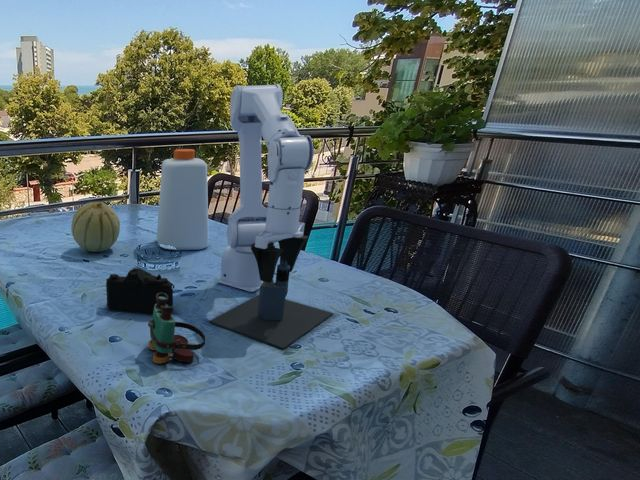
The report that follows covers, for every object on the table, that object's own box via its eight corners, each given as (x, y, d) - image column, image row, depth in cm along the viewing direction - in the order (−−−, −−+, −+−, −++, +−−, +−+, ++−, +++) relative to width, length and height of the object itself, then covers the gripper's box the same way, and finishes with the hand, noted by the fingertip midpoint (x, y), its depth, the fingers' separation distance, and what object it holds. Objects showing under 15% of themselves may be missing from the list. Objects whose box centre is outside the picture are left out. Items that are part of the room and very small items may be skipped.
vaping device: (285, 321, 92) (292, 263, 87) (257, 319, 93) (263, 262, 88) (283, 315, 94) (290, 259, 89) (256, 314, 95) (261, 258, 90)
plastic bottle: (210, 250, 137) (215, 151, 126) (159, 252, 137) (160, 153, 126) (202, 236, 151) (206, 146, 140) (155, 238, 151) (155, 148, 140)
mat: (209, 322, 93) (209, 320, 93) (262, 294, 105) (262, 292, 105) (283, 350, 82) (283, 348, 82) (333, 314, 95) (333, 313, 94)
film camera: (179, 300, 104) (180, 261, 101) (170, 318, 96) (170, 277, 92) (115, 293, 109) (114, 257, 105) (101, 310, 100) (99, 271, 97)
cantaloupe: (92, 241, 150) (90, 194, 144) (130, 247, 142) (129, 198, 136) (62, 253, 139) (58, 203, 133) (101, 261, 131) (98, 208, 125)
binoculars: (216, 311, 75) (155, 310, 74) (206, 368, 79) (148, 367, 78) (201, 290, 83) (146, 289, 82) (193, 342, 87) (141, 341, 86)
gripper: (284, 216, 78) (275, 291, 83) (323, 202, 87) (313, 271, 92) (247, 210, 83) (241, 281, 88) (288, 198, 92) (280, 263, 97)
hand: (276, 275), depth 90 cm, fingers open, 7 cm apart
